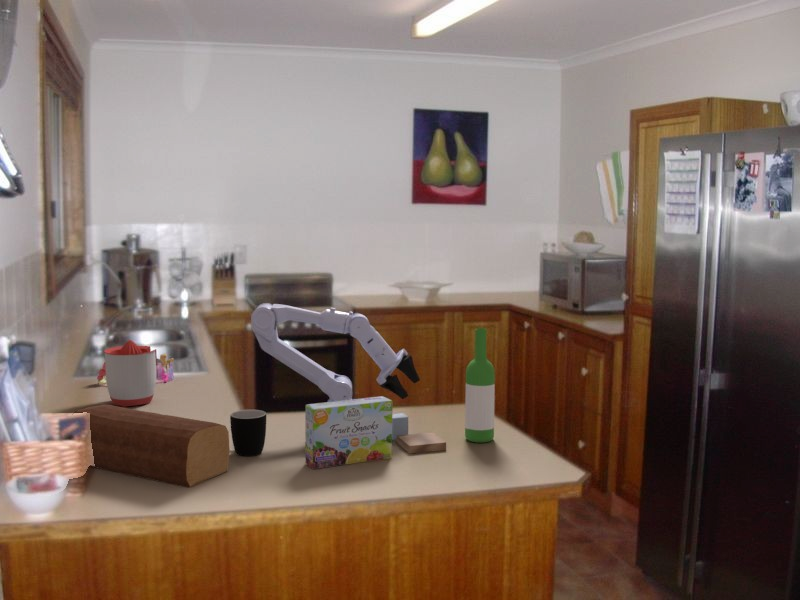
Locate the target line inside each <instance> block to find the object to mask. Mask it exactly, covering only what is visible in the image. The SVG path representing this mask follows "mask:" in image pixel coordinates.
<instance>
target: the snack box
mask: <svg viewBox="0 0 800 600" xmlns="http://www.w3.org/2000/svg"><path fill="white" fill-rule="evenodd" d="M393 404H394V403H393V400H392V399H390V398H388V397H385V396H383V395H381V396H371V397H364V398H352V400H343V401H334V402H328V401H327V402H317V403H308V404H305V414H304V415H305V417H304V418H305V421H304V423H305V433H304V434H305V438H304V439H305V447H304V448H305V464H307V465H308V467H310V468H311V469H312V470H317V469H322V468H330V467H331V468H332V467H336V466H345V465H351V464H359V463H364V462H365V463H367V462H373V461H379V460H386V459H391V458H392V456H393V440H392V414H393V409H394V407H393V406H394V405H393Z"/></svg>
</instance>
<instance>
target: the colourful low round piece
mask: <svg viewBox="0 0 800 600" xmlns="http://www.w3.org/2000/svg"><path fill="white" fill-rule="evenodd" d="M159 357H160V358H159V359H160V360H161V362H162V363H157V365H156V385H158V384H164V383H168V382H170V381H173V380H174V378H175V375H174V369H173V366H174V365H173V363H174V358H173V357H172V358H169V359H167V357H168V354H166V353H162V354H160V356H159ZM96 377H97V378H96V380H97V383H98V386H101V387H104V388H107V382H106V364H105V361H104V363H103V364H102V368H100V369H99V371H98V376H96ZM104 377H105V378H104Z"/></svg>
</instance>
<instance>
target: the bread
mask: <svg viewBox="0 0 800 600" xmlns="http://www.w3.org/2000/svg"><path fill="white" fill-rule="evenodd" d="M83 412H87V413H90V430H91V443H92V449H93V456H94V464H95V467H94V468H97V467H98V468H97V469H101V468H102V470H107V471H111V472H114V471H115V473H119V472H120V473H121V474H125V475H129V476H134V477H136V478H137V477H139V478H142V479H148V480H153V481H157V482H162V483H166V484H170V485H174V486H180V487H185V488H192V487H193V486H195V485H196V486H197V485H198V484H200V483H203V482H205V481H208V480H209V479H212V478H215V477H217V476H219V475H221V474H224V473H227V471H228V469H229V460H230V434H229V430H228V428H227V426H226V425H223V424H220V423H217V422H211V421H206V420H205V421H204V420H201V419H193V418H188V417H187V418H185V417H181V416H176V415H168V414H160V413H156V412H151V411H144V410H139V409H138V410H137V409H133V408H128V407H122V406H119V405H111V404H99V405H94V406H88V407H83V408H81V409H78V410H76V411H74V412H73V414H74V413H83Z"/></svg>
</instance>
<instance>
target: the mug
mask: <svg viewBox="0 0 800 600" xmlns="http://www.w3.org/2000/svg"><path fill="white" fill-rule="evenodd" d="M229 416H230V417H229V420H230V422H229V423H230V431H231V440H232V445H233V449H234V451H235V453H236V454H237V455H238V456H241V457H255V456H258V455H260V454H262V453H263V451H264V446H265V442H266V441H265V440H266V432H267V412H266V411H264V410H261V409H242V410H241V409H240V410H237V411H233V412H231V413H230V415H229Z"/></svg>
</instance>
